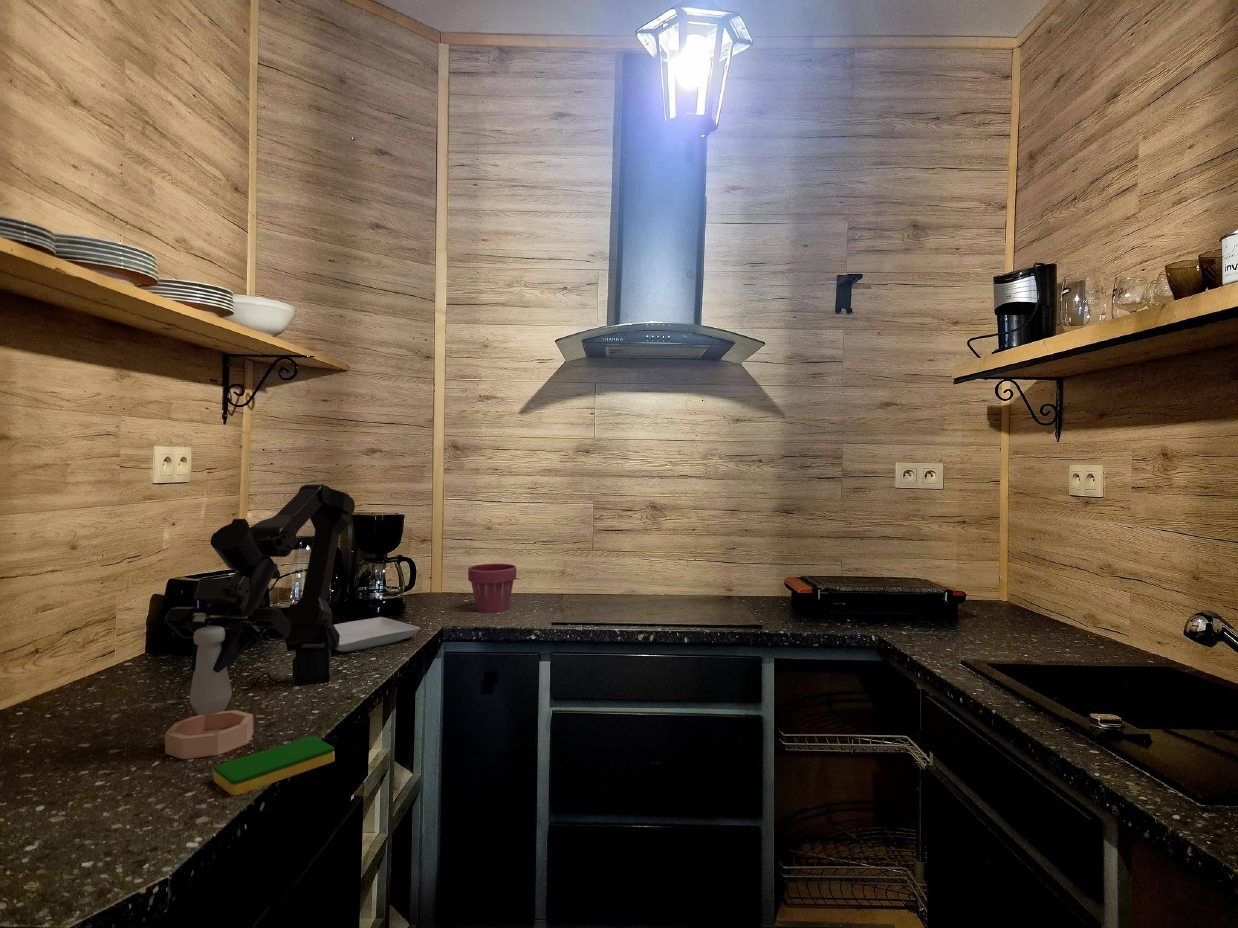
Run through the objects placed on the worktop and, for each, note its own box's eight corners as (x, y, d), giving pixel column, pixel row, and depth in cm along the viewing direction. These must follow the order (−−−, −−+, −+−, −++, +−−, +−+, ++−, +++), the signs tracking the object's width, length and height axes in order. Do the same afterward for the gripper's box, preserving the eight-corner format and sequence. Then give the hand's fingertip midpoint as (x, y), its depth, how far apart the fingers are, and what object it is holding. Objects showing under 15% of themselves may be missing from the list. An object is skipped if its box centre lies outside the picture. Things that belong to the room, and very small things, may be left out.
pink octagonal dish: (257, 725, 114) (257, 707, 114) (241, 752, 104) (241, 732, 104) (181, 734, 111) (181, 715, 111) (157, 762, 100) (157, 741, 100)
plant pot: (504, 615, 196) (503, 570, 196) (459, 613, 200) (459, 569, 200) (524, 605, 210) (523, 563, 210) (482, 603, 214) (481, 562, 214)
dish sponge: (335, 763, 100) (335, 746, 100) (233, 799, 90) (232, 780, 90) (313, 750, 105) (312, 734, 105) (213, 783, 94) (212, 765, 94)
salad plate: (300, 643, 170) (300, 629, 170) (381, 627, 185) (381, 615, 185) (337, 659, 155) (336, 643, 155) (422, 641, 170) (422, 627, 170)
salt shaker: (213, 702, 111) (212, 622, 111) (241, 705, 109) (239, 624, 109) (180, 715, 106) (178, 630, 106) (208, 719, 104) (207, 633, 104)
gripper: (171, 557, 112) (117, 643, 101) (280, 557, 110) (237, 645, 100) (205, 596, 120) (159, 679, 109) (307, 596, 118) (270, 681, 108)
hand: (204, 671), depth 106 cm, fingers closed on salt shaker, 3 cm apart
